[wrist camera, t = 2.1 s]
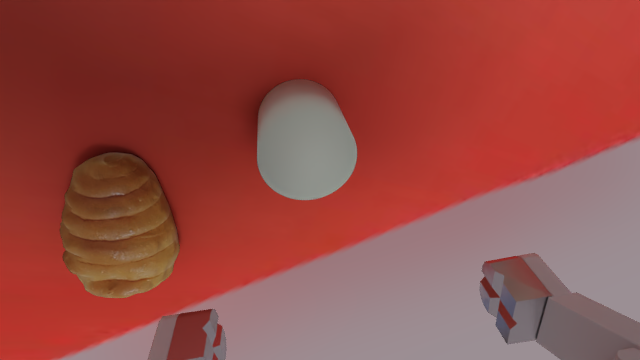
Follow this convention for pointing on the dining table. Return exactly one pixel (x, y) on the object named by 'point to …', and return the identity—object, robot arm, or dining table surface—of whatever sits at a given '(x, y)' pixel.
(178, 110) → the dining table surface
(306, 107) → the grey round cylinder
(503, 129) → the dining table surface
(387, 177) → the dining table surface
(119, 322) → the dining table surface
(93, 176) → the pastry
